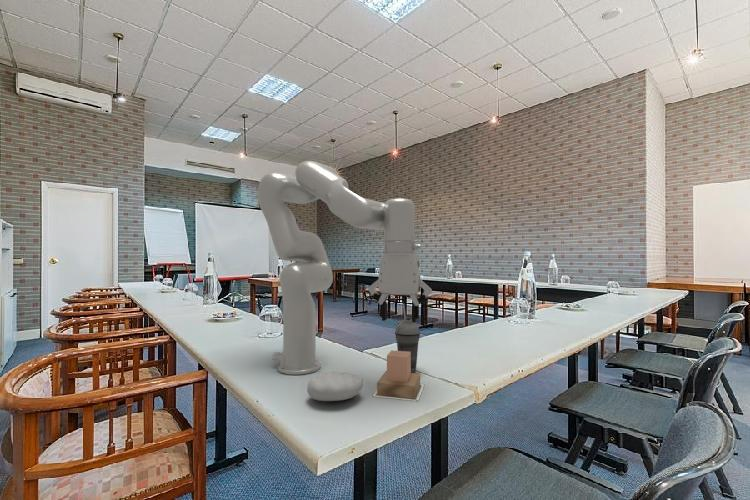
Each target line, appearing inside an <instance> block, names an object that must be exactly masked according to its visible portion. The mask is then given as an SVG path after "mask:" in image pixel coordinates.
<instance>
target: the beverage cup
mask: <svg viewBox="0 0 750 500" xmlns="http://www.w3.org/2000/svg"><path fill="white" fill-rule="evenodd" d="M402 309H403V310H402V312H403V319H401V320H400V321H399V322H398V323H397V324H396V327H395V330H394V334H395V341H396V345H397V346H396V347H397V351H407V352H411V373H416V370H417V362H418V350H419V341H420V335H421V331H420V327H419V325H418V323H417V321H416V322H412V318H407V316H406V314H407V313H406V307H405V303H402Z"/></svg>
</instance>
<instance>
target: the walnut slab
mask: <svg viewBox="0 0 750 500" xmlns="http://www.w3.org/2000/svg"><path fill="white" fill-rule="evenodd" d="M376 384H377V385H376V390H377V395H380V396H389V397H398V398H408V399H415V397H416V395H417V392H418V390H419V387H420V384H421V373H416V372H415V373H411V376H410V378H409V380H408V382H398V381H388V380H387V370H385V371H384V373H383V374H382V376H381V377H380V378H379V379H378V380H377V383H376Z"/></svg>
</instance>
